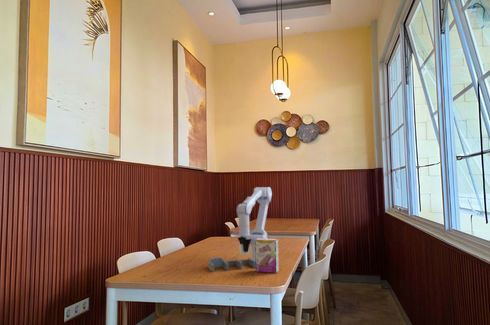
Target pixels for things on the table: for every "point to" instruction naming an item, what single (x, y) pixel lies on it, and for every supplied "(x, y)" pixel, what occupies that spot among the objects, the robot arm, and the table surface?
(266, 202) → the robot arm
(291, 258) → the table surface
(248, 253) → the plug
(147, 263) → the table surface
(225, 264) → the e-shaped shelf rack
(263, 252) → the candy bar box
